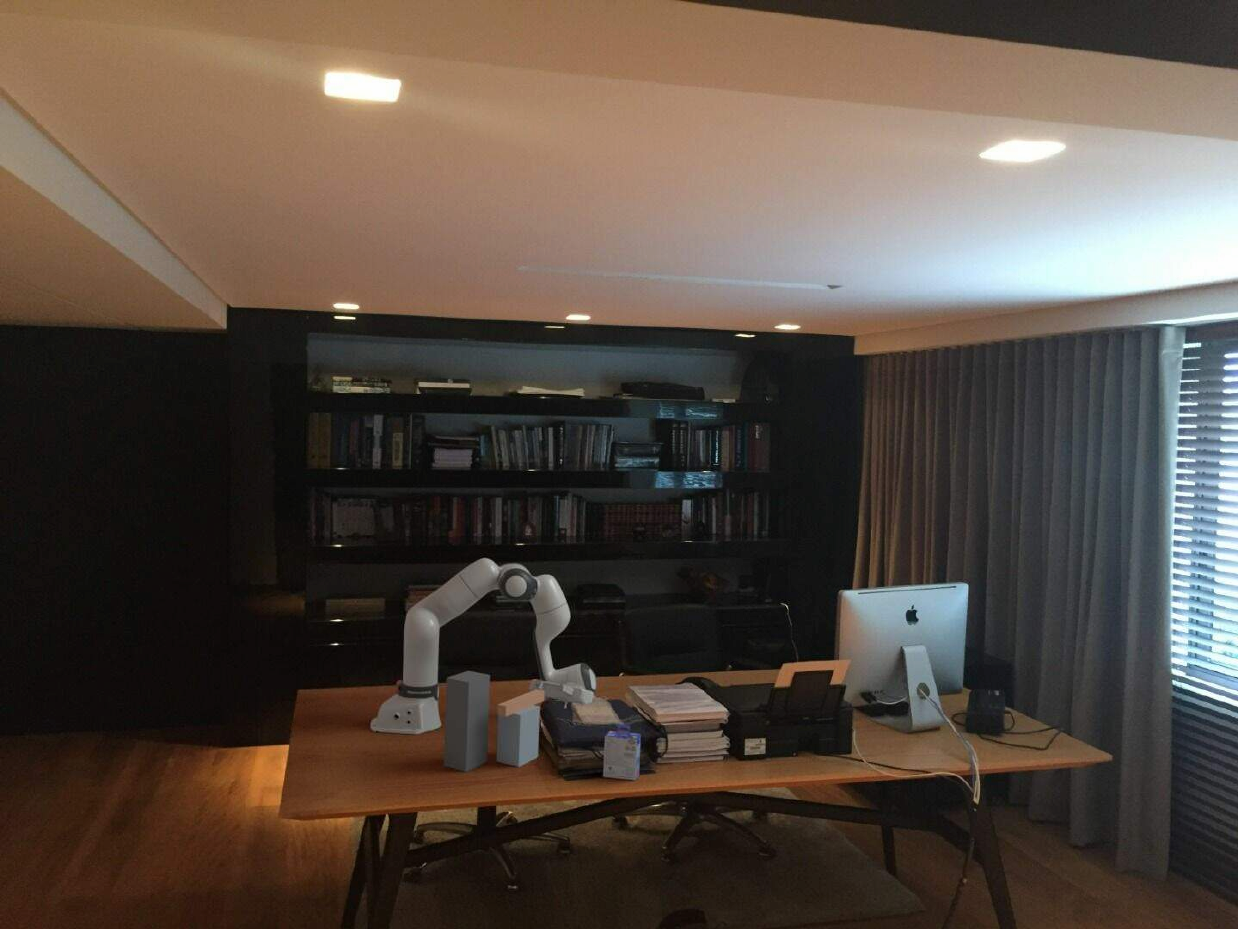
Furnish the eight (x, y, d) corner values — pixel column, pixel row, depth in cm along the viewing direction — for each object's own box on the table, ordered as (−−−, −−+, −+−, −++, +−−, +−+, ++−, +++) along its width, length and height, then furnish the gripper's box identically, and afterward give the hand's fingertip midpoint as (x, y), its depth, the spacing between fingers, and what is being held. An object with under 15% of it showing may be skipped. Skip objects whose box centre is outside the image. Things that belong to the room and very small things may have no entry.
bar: (536, 698, 305) (536, 689, 305) (544, 700, 304) (544, 691, 304) (497, 714, 288) (497, 704, 288) (505, 716, 286) (506, 706, 286)
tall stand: (465, 756, 296) (468, 670, 295) (486, 762, 293) (489, 675, 291) (443, 766, 288) (446, 677, 286) (465, 772, 284) (468, 682, 283)
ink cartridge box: (639, 774, 288) (642, 725, 287) (636, 781, 282) (638, 731, 281) (606, 770, 289) (608, 722, 289) (602, 777, 284) (604, 727, 283)
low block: (516, 752, 302) (517, 702, 301) (537, 757, 298) (539, 706, 297) (496, 761, 293) (498, 709, 293) (518, 767, 289) (520, 715, 289)
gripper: (544, 682, 325) (524, 669, 315) (598, 693, 315) (579, 680, 305) (538, 701, 323) (518, 688, 312) (592, 712, 313) (573, 700, 302)
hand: (548, 684), depth 308 cm, fingers open, 8 cm apart
